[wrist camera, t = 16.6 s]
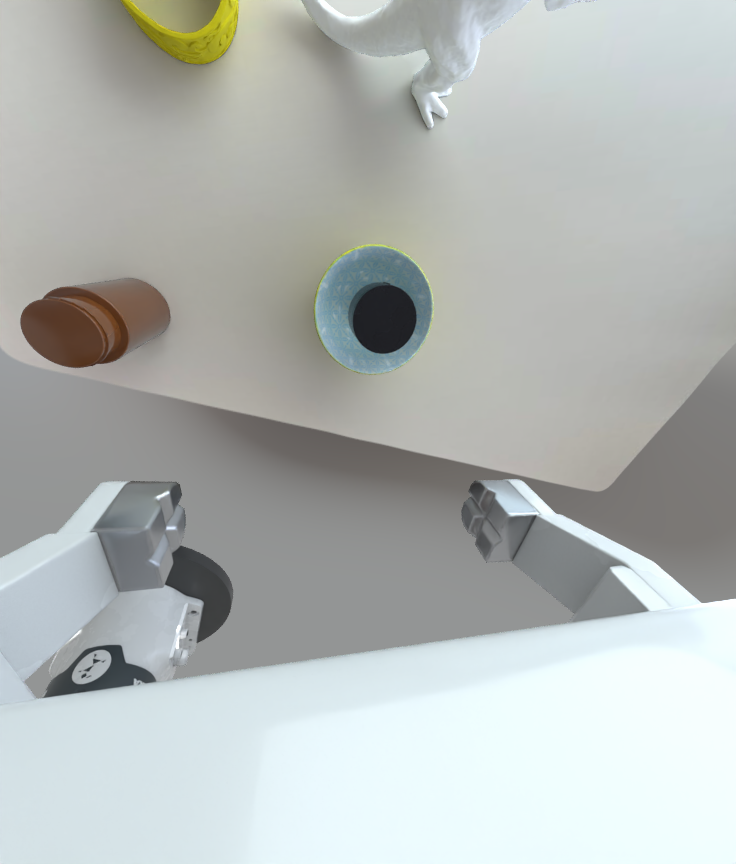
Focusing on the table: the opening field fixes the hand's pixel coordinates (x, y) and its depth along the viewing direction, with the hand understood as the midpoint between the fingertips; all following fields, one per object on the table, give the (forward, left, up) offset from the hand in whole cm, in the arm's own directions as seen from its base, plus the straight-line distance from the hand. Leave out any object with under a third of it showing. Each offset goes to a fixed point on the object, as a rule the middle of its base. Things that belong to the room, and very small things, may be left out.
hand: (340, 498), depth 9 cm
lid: (+2, -6, -20) cm, 21 cm away
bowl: (+2, -6, -29) cm, 30 cm away
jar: (-1, +16, -29) cm, 33 cm away
